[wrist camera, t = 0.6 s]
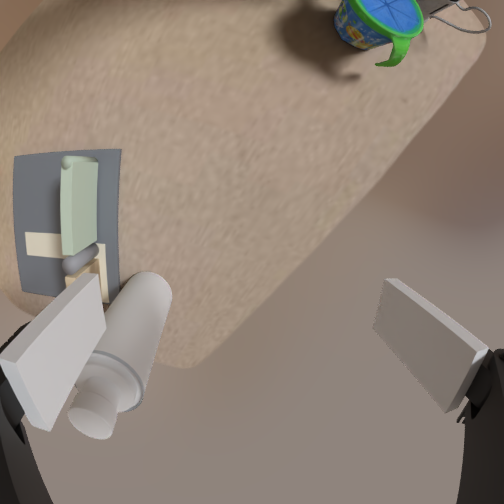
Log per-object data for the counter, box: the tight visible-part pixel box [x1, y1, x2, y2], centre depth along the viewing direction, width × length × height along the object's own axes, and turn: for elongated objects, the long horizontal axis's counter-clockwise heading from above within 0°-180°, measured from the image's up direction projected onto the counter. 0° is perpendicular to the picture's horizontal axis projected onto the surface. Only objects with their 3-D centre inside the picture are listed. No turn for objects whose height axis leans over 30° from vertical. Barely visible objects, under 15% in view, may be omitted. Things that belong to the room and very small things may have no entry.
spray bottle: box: [68, 272, 172, 439], centre depth 25 cm, size 7×7×25 cm
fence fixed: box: [65, 258, 102, 298], centre depth 32 cm, size 7×2×8 cm, turn 174°
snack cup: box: [334, 0, 424, 67], centre depth 25 cm, size 16×10×10 cm
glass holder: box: [415, 0, 491, 34], centre depth 22 cm, size 9×14×15 cm, turn 41°
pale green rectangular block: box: [60, 156, 99, 275], centre depth 29 cm, size 13×2×7 cm, turn 174°
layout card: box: [13, 149, 121, 304], centre depth 33 cm, size 21×18×1 cm
